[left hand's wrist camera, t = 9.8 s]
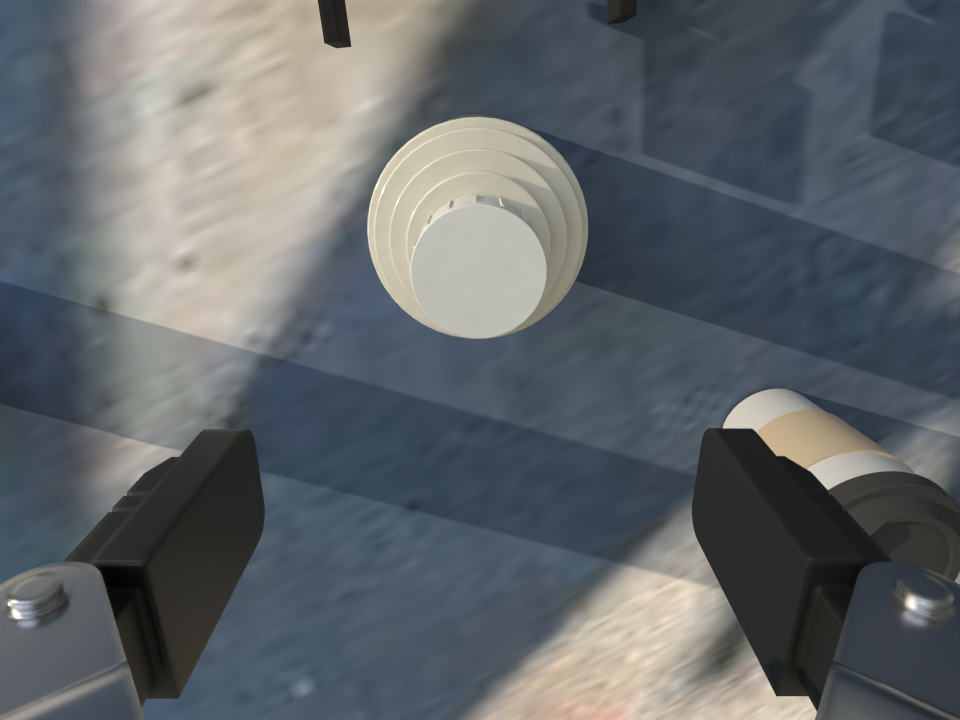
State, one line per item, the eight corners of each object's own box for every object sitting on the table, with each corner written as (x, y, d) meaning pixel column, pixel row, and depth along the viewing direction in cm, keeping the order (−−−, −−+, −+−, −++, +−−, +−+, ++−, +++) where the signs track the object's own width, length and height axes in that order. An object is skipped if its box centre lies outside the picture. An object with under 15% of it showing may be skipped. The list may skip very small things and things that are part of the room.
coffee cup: (858, 422, 45) (1032, 564, 31) (764, 506, 47) (884, 672, 33) (773, 349, 43) (917, 466, 29) (678, 441, 45) (769, 590, 31)
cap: (553, 204, 19) (561, 214, 17) (529, 326, 20) (534, 348, 18) (422, 184, 18) (416, 192, 17) (408, 310, 20) (401, 330, 18)
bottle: (553, 124, 37) (651, 145, 17) (529, 256, 40) (587, 414, 19) (419, 103, 37) (346, 95, 16) (405, 237, 40) (328, 380, 19)
